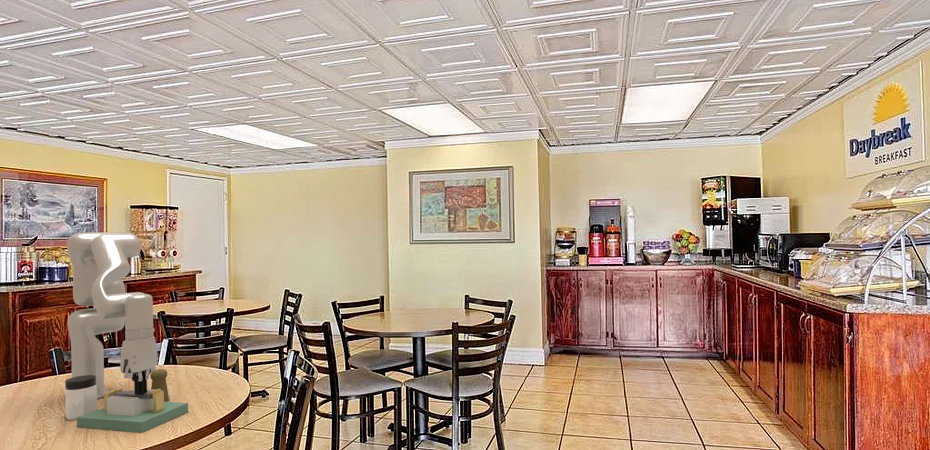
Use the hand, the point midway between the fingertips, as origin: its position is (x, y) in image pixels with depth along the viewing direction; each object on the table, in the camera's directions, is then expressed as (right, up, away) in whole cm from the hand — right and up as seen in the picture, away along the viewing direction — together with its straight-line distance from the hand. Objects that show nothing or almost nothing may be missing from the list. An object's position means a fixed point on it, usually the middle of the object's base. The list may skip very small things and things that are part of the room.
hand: (140, 393), depth 169 cm
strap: (-2, -1, +1) cm, 2 cm away
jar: (-23, -9, +6) cm, 25 cm away
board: (-2, -8, +1) cm, 9 cm away
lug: (+6, -5, -2) cm, 8 cm away
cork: (-5, -9, +19) cm, 21 cm away
